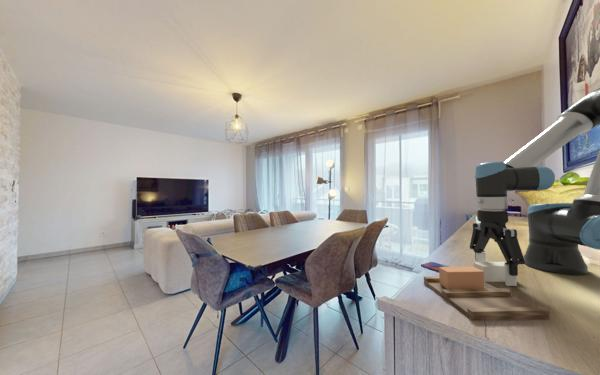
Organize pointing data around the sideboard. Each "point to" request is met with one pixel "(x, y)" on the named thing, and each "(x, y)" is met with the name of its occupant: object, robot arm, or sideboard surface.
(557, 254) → the robot arm
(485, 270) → the cream stub
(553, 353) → the sideboard surface
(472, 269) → the terracotta stub
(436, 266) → the smartphone
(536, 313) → the comb board
